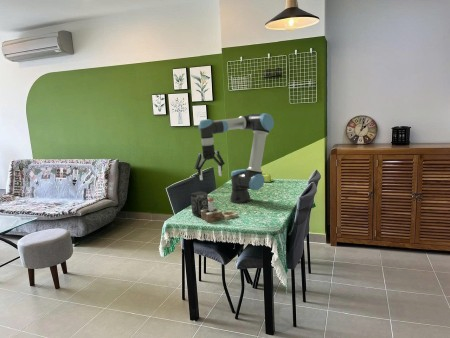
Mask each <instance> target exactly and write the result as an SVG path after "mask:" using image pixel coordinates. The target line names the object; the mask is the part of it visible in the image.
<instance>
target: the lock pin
mask: <svg viewBox="0 0 450 338" xmlns="http://www.w3.org/2000/svg"><path fill="white" fill-rule="evenodd" d="M207 199H208V211H209V212H214V207H215V203H214V198H213V197H209V198H207Z"/></svg>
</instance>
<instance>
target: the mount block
mask: <svg viewBox="0 0 450 338" xmlns="http://www.w3.org/2000/svg"><path fill="white" fill-rule="evenodd" d="M238 217H239V213H237V212H236V211H234V210H232V209H231V210H227V211H222V219H224V220H230V219H234V218H235V219H236V218H238Z"/></svg>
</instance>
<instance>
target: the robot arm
mask: <svg viewBox="0 0 450 338" xmlns="http://www.w3.org/2000/svg"><path fill="white" fill-rule="evenodd" d="M274 125H275V122H274V118H273V116H272V115H271V114H270V113H264V112H263V113H250V114H247V115H240V116H239V117H235V118H225V119H216V120H212V119H211V118H209V119H201V120H200V121H199V123H198V127H197V128H198V131H199V132H200V138H201V140H200V141H201V150H202V153H198V154H197V159H196V162H195V165H194V169H195V170H197V174H198V176H199V180H200V181H203V180H204V179H203V170H202V167H203V166H204V164H205V163H206V161H209V160H213V161H214V162H215V163H216V164H217V171H218V176H219V177H222V176H223V175H222V171H223V166H224V165H225V161H224V160H223V158H222V155H221V153H220V150H215V145H214V143H215V142H214V135H216V134H224V133H227V132H228V131H231V130H239V129H240V130H251V131H252V133H253V138H252V143H251V144H252V146H251V151H250V158H249V163H248V167H247V168H242V169H235V170H232V171H231V175H230V179H231V180H230V181H231V194H230V203H233V204H245V203H249V202H250V201H251V195H250V193H249V192H250V191H259V190H260V189H261V188H262V187H264V184H265V177H264V175H263V171H262V163H263V158H264V157H263V156H264V150H265V145H266V140H267V139H266V138H267V137H268V135H269V134H270V131H271V130H273V128H274ZM202 157H203V158H202ZM249 190H250V191H249Z"/></svg>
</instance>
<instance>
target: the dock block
mask: <svg viewBox="0 0 450 338" xmlns="http://www.w3.org/2000/svg"><path fill="white" fill-rule="evenodd" d="M222 212H223V210H221V209H217V207H216V206H214V212H209V211H208V209H204V210H201V216H200V217H201V220H202V221H204V220H205V221H204V222H206V223H208V224H209V223H214V222H217V221H222V220H223V218H222Z"/></svg>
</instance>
